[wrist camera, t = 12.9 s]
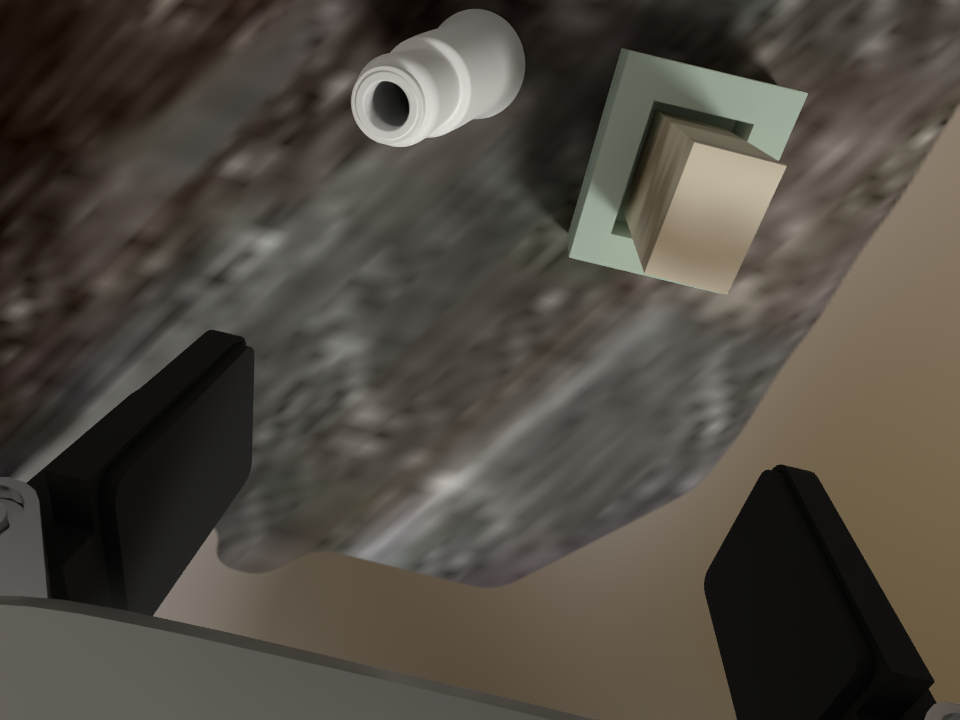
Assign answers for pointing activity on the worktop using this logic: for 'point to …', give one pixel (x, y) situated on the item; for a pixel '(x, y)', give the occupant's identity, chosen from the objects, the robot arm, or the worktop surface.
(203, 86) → the worktop surface
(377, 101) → the cosmetic bottle
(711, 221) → the beige rectangular block
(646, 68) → the end cap
